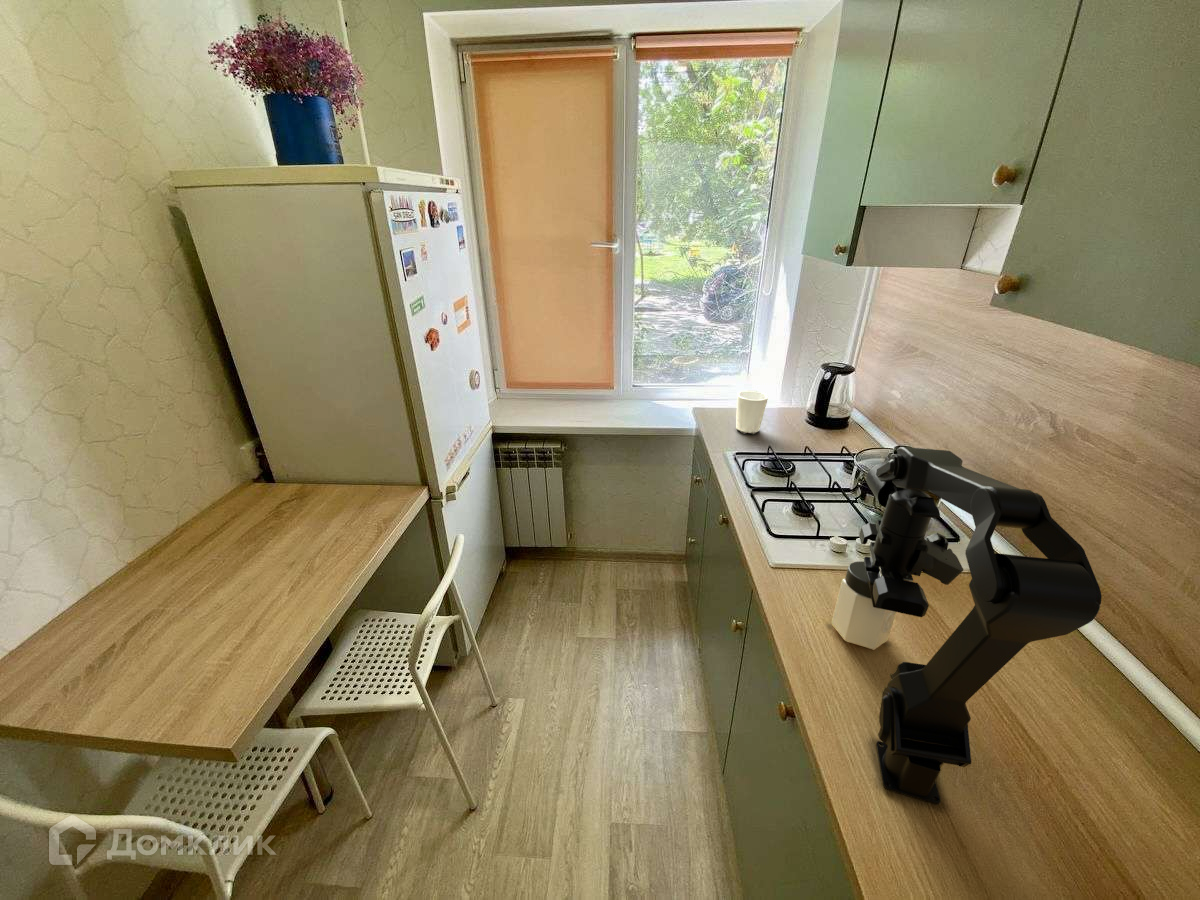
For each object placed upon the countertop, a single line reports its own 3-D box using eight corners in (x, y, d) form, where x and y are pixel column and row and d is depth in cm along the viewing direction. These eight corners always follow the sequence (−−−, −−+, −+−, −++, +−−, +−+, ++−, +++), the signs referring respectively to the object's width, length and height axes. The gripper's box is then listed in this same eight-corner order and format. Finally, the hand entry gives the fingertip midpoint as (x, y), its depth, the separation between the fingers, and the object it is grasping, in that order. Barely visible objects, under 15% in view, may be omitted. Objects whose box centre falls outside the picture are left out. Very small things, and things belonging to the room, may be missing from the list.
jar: (868, 656, 81) (886, 594, 77) (823, 627, 87) (837, 569, 83) (895, 637, 86) (912, 578, 82) (850, 611, 92) (864, 555, 88)
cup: (731, 424, 172) (735, 389, 166) (759, 425, 170) (765, 391, 165) (734, 435, 163) (739, 399, 157) (764, 437, 162) (770, 401, 156)
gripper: (990, 579, 62) (950, 666, 69) (947, 504, 78) (919, 580, 85) (891, 560, 65) (863, 645, 72) (870, 492, 81) (849, 567, 88)
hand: (876, 606), depth 79 cm, fingers closed
